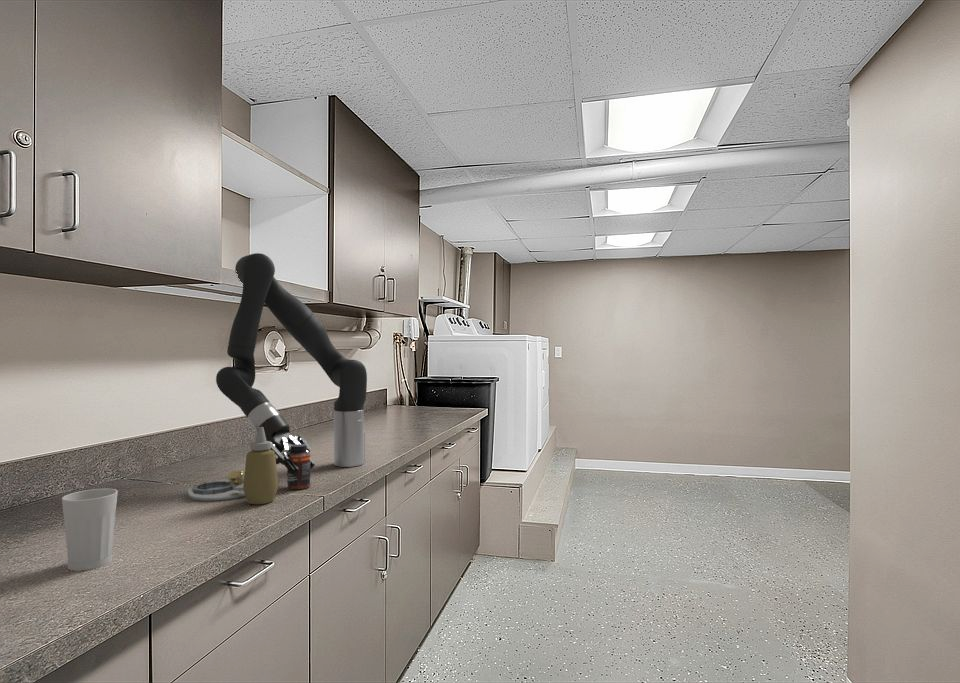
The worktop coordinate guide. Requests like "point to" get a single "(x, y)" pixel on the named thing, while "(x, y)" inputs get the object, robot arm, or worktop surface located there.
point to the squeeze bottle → (260, 471)
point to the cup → (89, 527)
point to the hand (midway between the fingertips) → (304, 469)
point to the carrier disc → (219, 488)
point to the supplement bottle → (300, 467)
